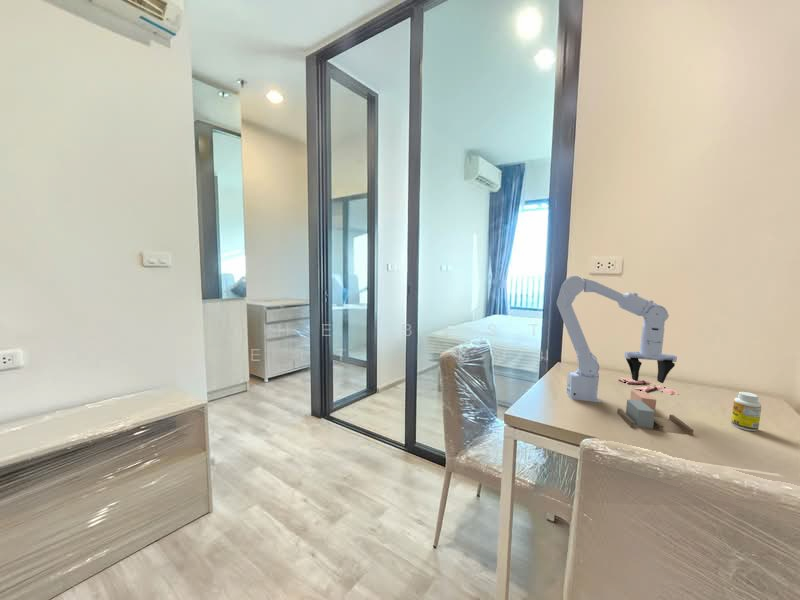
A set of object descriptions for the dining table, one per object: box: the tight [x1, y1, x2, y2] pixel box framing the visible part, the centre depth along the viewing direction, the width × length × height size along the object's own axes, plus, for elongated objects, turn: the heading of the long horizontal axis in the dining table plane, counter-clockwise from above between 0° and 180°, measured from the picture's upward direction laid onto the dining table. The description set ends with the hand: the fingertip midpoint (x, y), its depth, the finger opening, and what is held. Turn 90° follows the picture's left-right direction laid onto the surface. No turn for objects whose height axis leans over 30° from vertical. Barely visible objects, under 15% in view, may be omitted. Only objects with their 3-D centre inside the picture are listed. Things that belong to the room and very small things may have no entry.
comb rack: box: [616, 408, 694, 436], centre depth 97 cm, size 15×10×2 cm, turn 75°
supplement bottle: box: [731, 391, 762, 432], centre depth 96 cm, size 6×6×10 cm
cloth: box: [618, 377, 680, 395], centre depth 131 cm, size 20×22×2 cm
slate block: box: [625, 399, 656, 429], centre depth 97 cm, size 4×8×5 cm, turn 165°
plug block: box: [629, 389, 657, 413], centre depth 109 cm, size 4×8×5 cm, turn 165°
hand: (647, 381), depth 108 cm, fingers open, 7 cm apart
